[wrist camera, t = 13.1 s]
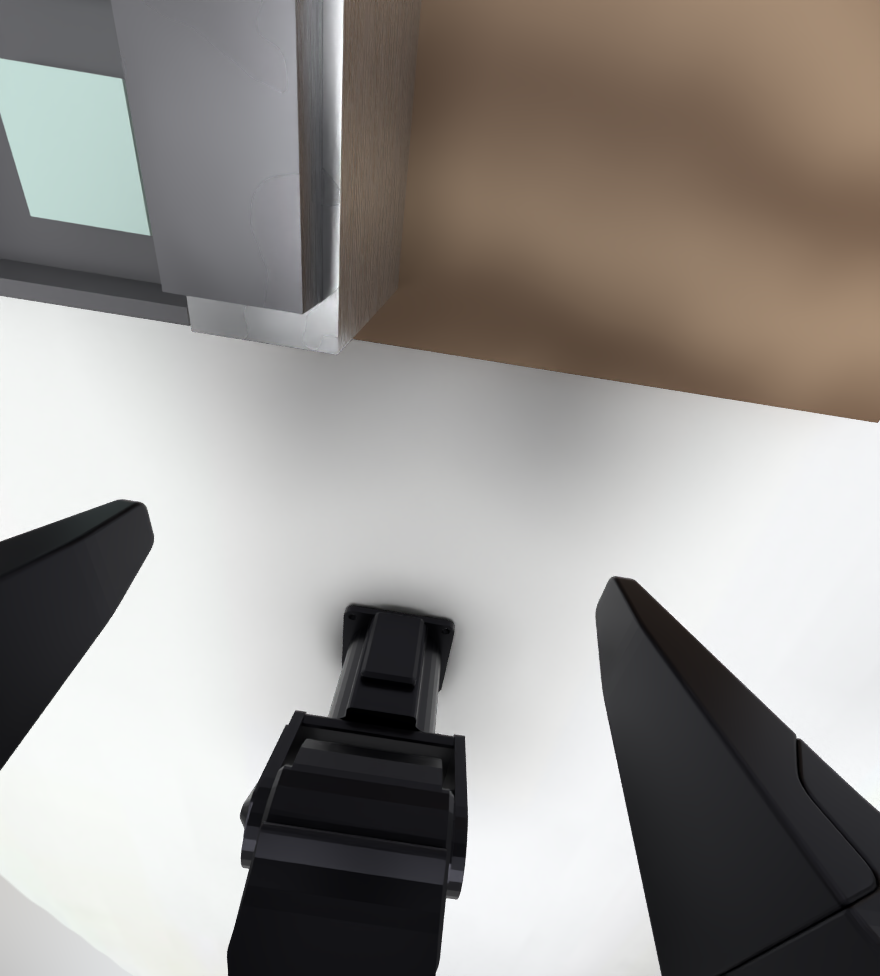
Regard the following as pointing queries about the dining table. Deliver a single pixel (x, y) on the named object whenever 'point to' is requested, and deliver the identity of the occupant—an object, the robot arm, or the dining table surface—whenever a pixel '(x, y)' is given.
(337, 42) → the grey block
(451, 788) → the robot arm
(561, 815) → the dining table surface
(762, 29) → the board
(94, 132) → the tile
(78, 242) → the tray
